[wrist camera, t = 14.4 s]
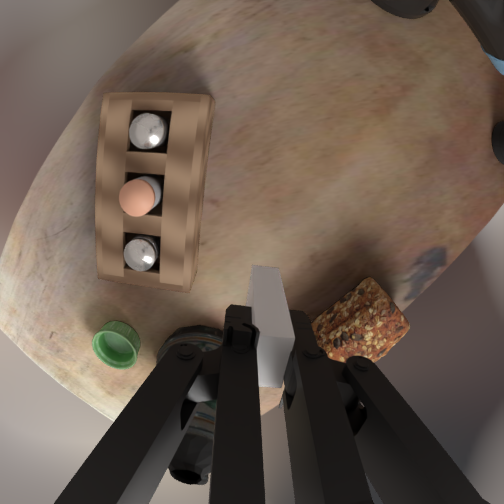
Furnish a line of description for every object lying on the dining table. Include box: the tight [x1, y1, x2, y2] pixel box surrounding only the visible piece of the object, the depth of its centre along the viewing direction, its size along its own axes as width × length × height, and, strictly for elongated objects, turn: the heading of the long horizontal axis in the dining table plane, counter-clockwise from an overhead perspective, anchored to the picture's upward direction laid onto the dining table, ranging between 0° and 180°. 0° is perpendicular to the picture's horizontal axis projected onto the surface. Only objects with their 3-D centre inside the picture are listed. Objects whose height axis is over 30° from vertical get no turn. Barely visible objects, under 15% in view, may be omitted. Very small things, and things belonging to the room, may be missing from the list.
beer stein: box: [156, 325, 223, 485], centre depth 43 cm, size 16×19×25 cm
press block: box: [95, 92, 215, 293], centre depth 40 cm, size 26×14×7 cm, turn 172°
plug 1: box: [129, 113, 171, 149], centre depth 36 cm, size 4×4×6 cm
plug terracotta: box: [119, 174, 164, 217], centre depth 37 cm, size 4×4×6 cm
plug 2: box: [124, 234, 161, 271], centre depth 41 cm, size 4×4×6 cm
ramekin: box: [92, 321, 140, 369], centre depth 51 cm, size 9×9×4 cm
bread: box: [311, 277, 410, 363], centre depth 48 cm, size 19×11×10 cm, turn 134°
